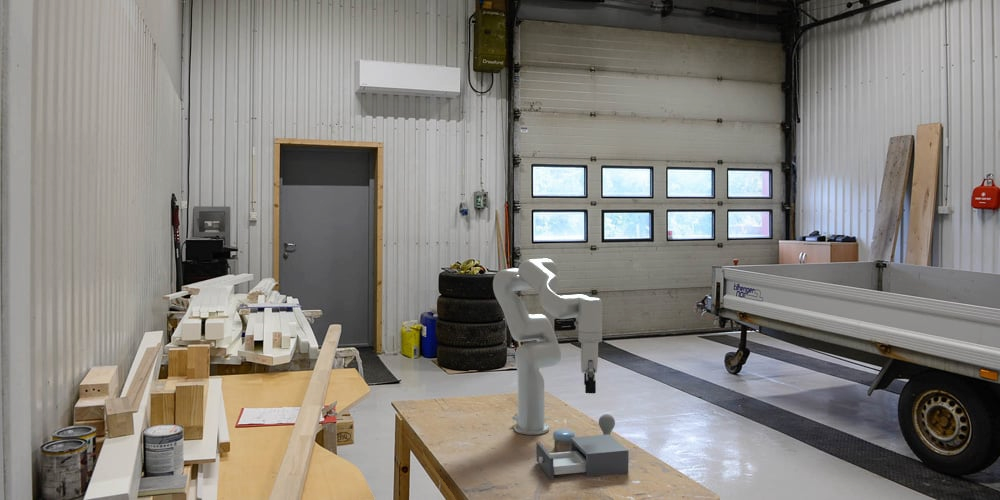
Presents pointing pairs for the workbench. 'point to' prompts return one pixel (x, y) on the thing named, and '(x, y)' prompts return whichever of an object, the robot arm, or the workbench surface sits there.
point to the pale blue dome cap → (563, 435)
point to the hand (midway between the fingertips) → (589, 388)
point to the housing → (601, 455)
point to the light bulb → (606, 423)
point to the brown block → (562, 446)
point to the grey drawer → (559, 461)
